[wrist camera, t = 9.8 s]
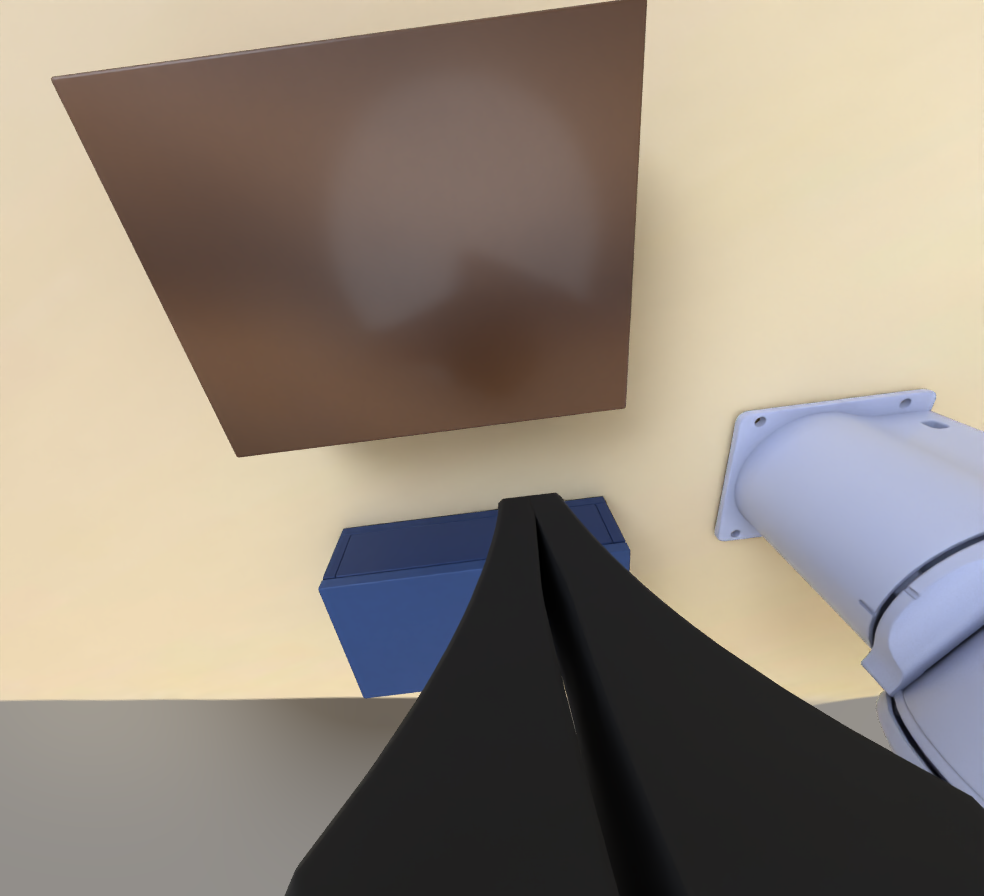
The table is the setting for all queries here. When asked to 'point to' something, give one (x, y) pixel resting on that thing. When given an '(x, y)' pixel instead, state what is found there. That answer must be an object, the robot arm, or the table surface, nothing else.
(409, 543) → the blue case
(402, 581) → the blue case lid
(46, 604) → the table surface
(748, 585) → the table surface
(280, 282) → the pen box lid
